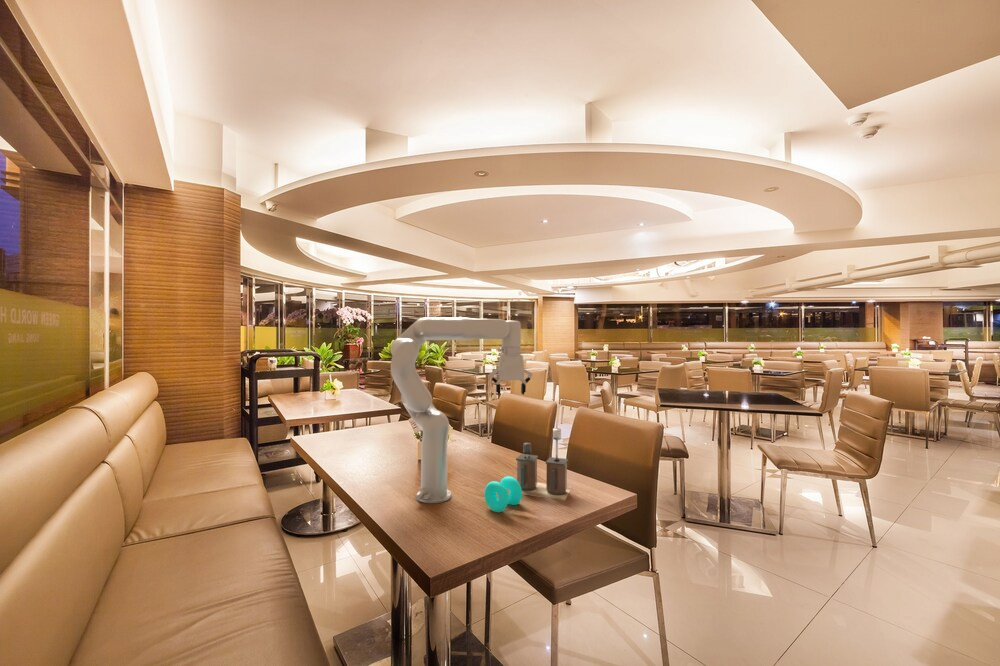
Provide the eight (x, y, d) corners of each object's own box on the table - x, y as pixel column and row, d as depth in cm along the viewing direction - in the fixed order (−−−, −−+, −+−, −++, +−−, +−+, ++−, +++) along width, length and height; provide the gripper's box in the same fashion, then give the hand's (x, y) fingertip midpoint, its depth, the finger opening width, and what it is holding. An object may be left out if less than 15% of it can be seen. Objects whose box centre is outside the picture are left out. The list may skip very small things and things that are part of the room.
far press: (531, 494, 152) (531, 448, 152) (513, 491, 154) (513, 446, 154) (538, 485, 160) (538, 442, 161) (520, 483, 163) (521, 440, 163)
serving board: (564, 503, 146) (564, 500, 146) (511, 495, 153) (511, 492, 153) (571, 489, 159) (571, 486, 159) (522, 483, 166) (522, 480, 166)
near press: (562, 498, 148) (562, 466, 148) (543, 495, 150) (543, 463, 150) (567, 489, 156) (567, 458, 157) (549, 487, 159) (549, 456, 159)
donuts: (523, 508, 142) (523, 479, 142) (503, 517, 135) (503, 486, 135) (502, 500, 149) (503, 472, 149) (482, 508, 142) (482, 479, 142)
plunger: (561, 473, 151) (561, 431, 151) (548, 471, 153) (549, 429, 153) (564, 469, 156) (564, 428, 156) (551, 468, 158) (552, 427, 158)
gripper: (490, 351, 161) (490, 395, 160) (534, 351, 163) (533, 395, 162) (488, 350, 168) (488, 393, 168) (530, 351, 170) (530, 392, 170)
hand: (510, 394), depth 165 cm, fingers open, 9 cm apart
